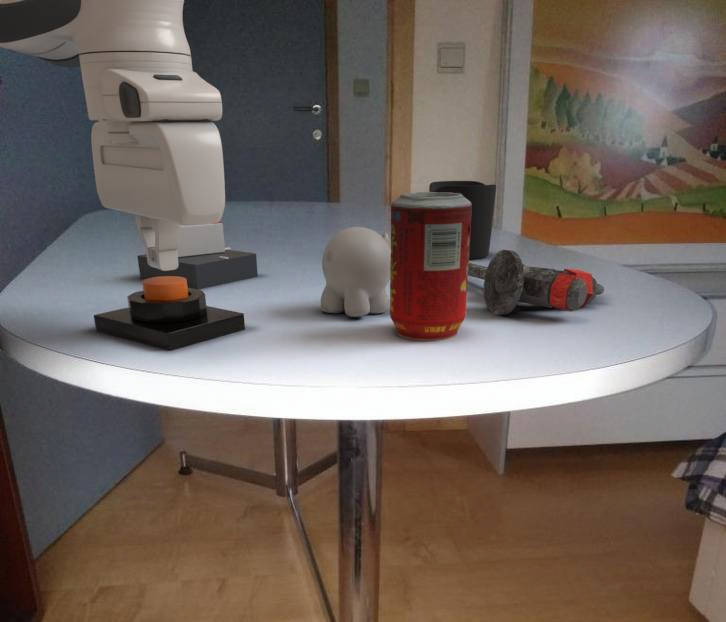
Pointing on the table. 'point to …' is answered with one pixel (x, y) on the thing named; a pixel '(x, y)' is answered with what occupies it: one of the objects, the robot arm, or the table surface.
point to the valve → (532, 285)
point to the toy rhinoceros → (356, 272)
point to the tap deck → (207, 268)
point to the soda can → (429, 264)
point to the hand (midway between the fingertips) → (163, 268)
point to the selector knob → (201, 239)
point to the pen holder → (474, 211)
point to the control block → (169, 321)
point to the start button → (165, 288)
